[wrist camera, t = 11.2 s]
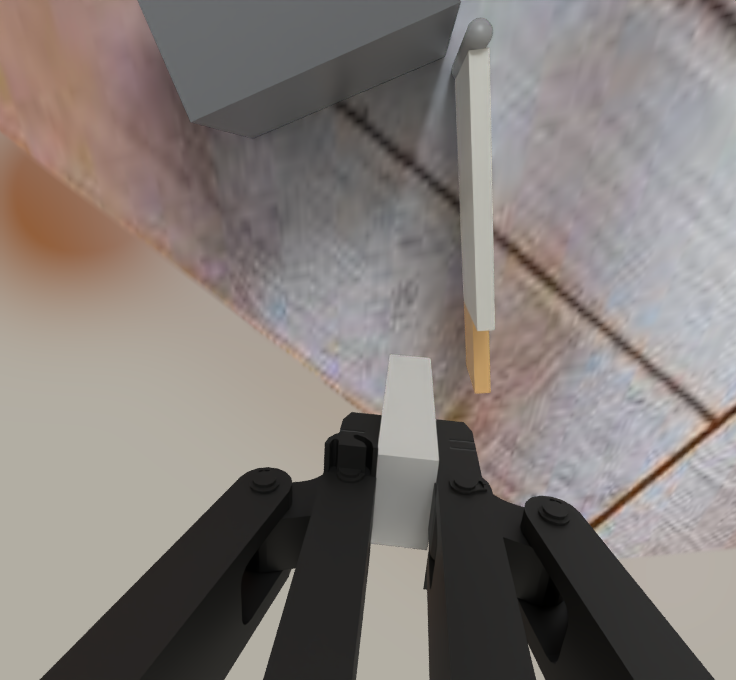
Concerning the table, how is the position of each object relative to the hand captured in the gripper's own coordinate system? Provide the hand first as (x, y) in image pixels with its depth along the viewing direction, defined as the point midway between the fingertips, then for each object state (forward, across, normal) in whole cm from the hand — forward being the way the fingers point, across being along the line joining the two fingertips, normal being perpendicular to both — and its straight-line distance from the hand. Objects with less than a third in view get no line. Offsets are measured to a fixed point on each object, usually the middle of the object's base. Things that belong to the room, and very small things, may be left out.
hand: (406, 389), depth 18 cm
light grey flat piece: (+12, +3, +5) cm, 13 cm away
